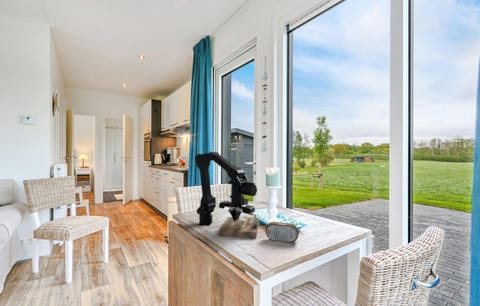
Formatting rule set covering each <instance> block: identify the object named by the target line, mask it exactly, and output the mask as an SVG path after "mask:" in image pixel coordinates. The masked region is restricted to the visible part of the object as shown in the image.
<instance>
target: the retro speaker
mask: <svg viewBox="0 0 480 306" xmlns="http://www.w3.org/2000/svg"><path fill="white" fill-rule="evenodd" d="M265 235H266V237H267V238H268V239H269V240H270V241H273V242H281V243H288V244H293V243H294V242H296V241H297V240H298V239H299V235H300V232H299V229H298V227H297V226H296V225H295V224H293V223H288V222H279V221H272V222H269V223H268V224H267V225H266V227H265Z"/></svg>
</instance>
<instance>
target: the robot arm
mask: <svg viewBox="0 0 480 306" xmlns="http://www.w3.org/2000/svg"><path fill="white" fill-rule="evenodd" d="M194 161H195V165H196V167H197V169H198V170H199V177H200V185H201V187H200V188H201V195H202V196H201V198H200V204H199V206H198V208H197V209H196V214H197V215H199V216H198V217H199V218H198V219H199V223H198V226H211V224H213V214H212V213H214V211H215V209H216V207H217V201H216V196H213V194H212V189H211V181H210V180H211V179H210V171H209V168H210V165H211V162H212V161H213V162H214V163H216V164H217V165H218V166H219V167H220V168H222V170H224V171H225V172H226V175H227V176H228V178H230V180H229V181H228V182H227V184H228V185H231V190H230V192H231V193H230V195H229V199H230V201H229V200H224V201H220V202H219V204H218V208H219V209H223V210H224V209H225V207H226V208H228V210H227V212H228V213H229V214H230V217H232V218H233V220H234V222H235V220H238V219H239V218H241V217H240V216H241V214H246V215H249V214H251V213H255V212H256V207H255V206H254V205H249V198H246V197H245V196H249V197H256V195H257V191H258V188H257V185H256V182H254V181H250V180H249V179H248V177H247V175H246V172H245V170H244V169H242V168H241V167H239V166H237V165H235V164H232V163H231V162H229V161H228V160H227V159H226V158H225V157H223V156H222V155H221V154H220V153H219V152H218V151H210V152H206V153H197V154H196V156H195V157H194Z"/></svg>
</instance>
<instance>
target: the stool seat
mask: <svg viewBox="0 0 480 306" xmlns="http://www.w3.org/2000/svg"><path fill="white" fill-rule="evenodd" d="M240 218H241V217H239V219H240ZM259 228H260V218H257V217H256V221H255V222H253V223H252V224H250V225H248V226H246V227H244V228H242V229H238V228H235V222H234V220H233V218H232V216H227V217H226V219H225V220H224V222H223V224H222V225H221V227H220V228H219V230H218V237H221V238H222V237H225V238H239V239H241V238H242V239H254V240H255V239H257V237H258V236H257V235H258V231H259Z"/></svg>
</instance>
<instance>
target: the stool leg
mask: <svg viewBox="0 0 480 306" xmlns="http://www.w3.org/2000/svg"><path fill="white" fill-rule="evenodd" d="M239 218H240V219H238V220H235V228H238V229H242V228H244V227H246V226H248V225H250V224H252V223H253V222H255V221H256V218H257V214H255V212H253V213H251V214H246V215H245V216H242V217H239Z"/></svg>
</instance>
